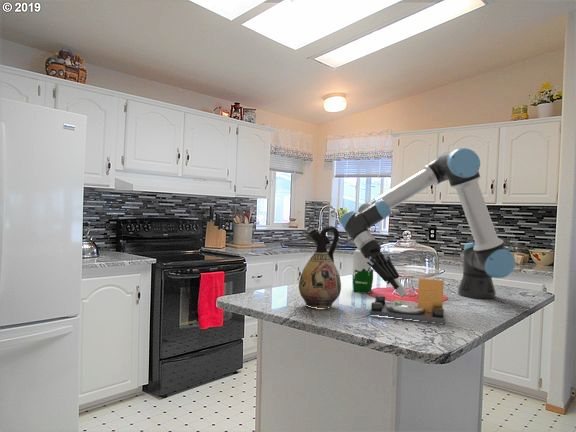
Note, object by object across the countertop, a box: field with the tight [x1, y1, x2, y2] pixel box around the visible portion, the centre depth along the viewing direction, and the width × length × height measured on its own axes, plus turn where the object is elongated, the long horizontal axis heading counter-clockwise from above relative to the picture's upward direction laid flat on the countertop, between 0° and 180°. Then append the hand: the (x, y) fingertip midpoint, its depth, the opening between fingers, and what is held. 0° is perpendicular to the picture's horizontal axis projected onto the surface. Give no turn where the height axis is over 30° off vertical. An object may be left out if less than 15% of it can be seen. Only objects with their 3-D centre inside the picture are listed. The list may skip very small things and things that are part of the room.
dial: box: [386, 278, 445, 314], centre depth 151 cm, size 18×13×11 cm
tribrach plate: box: [369, 294, 446, 324], centre depth 154 cm, size 24×17×4 cm
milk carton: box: [352, 248, 374, 293], centre depth 193 cm, size 9×9×20 cm
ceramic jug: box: [298, 225, 342, 309], centre depth 161 cm, size 17×15×30 cm
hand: (404, 295), depth 159 cm, fingers closed
